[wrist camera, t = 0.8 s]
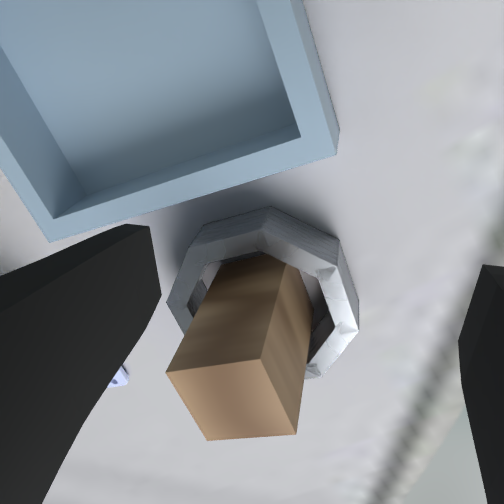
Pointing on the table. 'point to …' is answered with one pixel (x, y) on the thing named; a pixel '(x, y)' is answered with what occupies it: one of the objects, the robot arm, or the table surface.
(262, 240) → the collar
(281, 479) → the table surface
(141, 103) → the bin
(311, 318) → the peg
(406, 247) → the table surface
